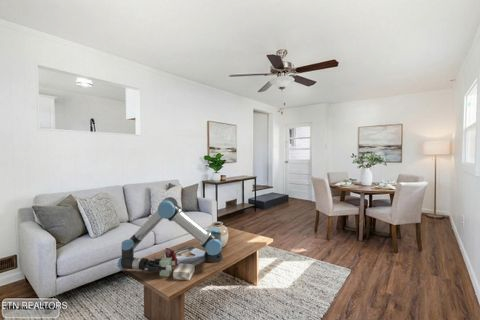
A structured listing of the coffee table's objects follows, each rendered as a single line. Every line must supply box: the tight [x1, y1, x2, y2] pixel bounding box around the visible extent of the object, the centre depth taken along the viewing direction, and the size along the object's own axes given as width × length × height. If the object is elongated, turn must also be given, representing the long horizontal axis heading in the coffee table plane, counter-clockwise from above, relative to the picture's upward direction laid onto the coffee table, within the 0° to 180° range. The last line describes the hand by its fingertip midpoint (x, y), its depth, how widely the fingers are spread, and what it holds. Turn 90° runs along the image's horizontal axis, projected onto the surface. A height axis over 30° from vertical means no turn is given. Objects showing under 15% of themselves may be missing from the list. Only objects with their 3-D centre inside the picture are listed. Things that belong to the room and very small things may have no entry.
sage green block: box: [159, 256, 173, 277], centre depth 160 cm, size 6×6×10 cm
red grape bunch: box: [164, 247, 179, 265], centre depth 175 cm, size 7×12×10 cm, turn 49°
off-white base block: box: [172, 263, 196, 281], centre depth 158 cm, size 11×11×5 cm
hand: (172, 265), depth 159 cm, fingers closed on sage green block, 6 cm apart
